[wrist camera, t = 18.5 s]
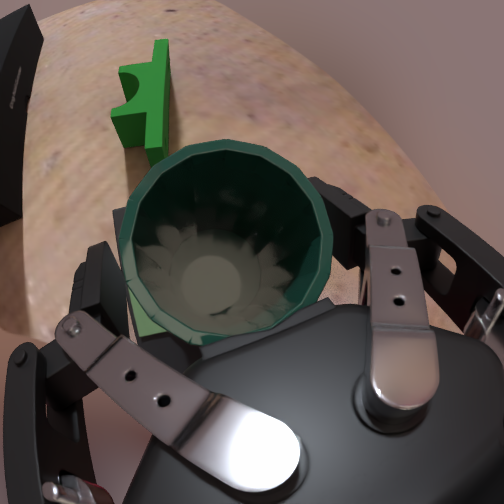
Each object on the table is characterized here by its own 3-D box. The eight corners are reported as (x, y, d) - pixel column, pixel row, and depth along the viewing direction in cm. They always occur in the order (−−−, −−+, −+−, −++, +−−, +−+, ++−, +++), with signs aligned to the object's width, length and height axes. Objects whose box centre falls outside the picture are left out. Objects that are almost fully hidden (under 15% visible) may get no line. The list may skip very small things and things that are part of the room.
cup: (177, 335, 16) (146, 371, 7) (155, 237, 17) (109, 162, 8) (276, 311, 17) (355, 314, 8) (251, 216, 18) (299, 129, 9)
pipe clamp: (132, 77, 23) (124, 43, 18) (170, 73, 23) (168, 38, 19) (121, 181, 21) (105, 152, 16) (168, 176, 22) (162, 145, 17)
